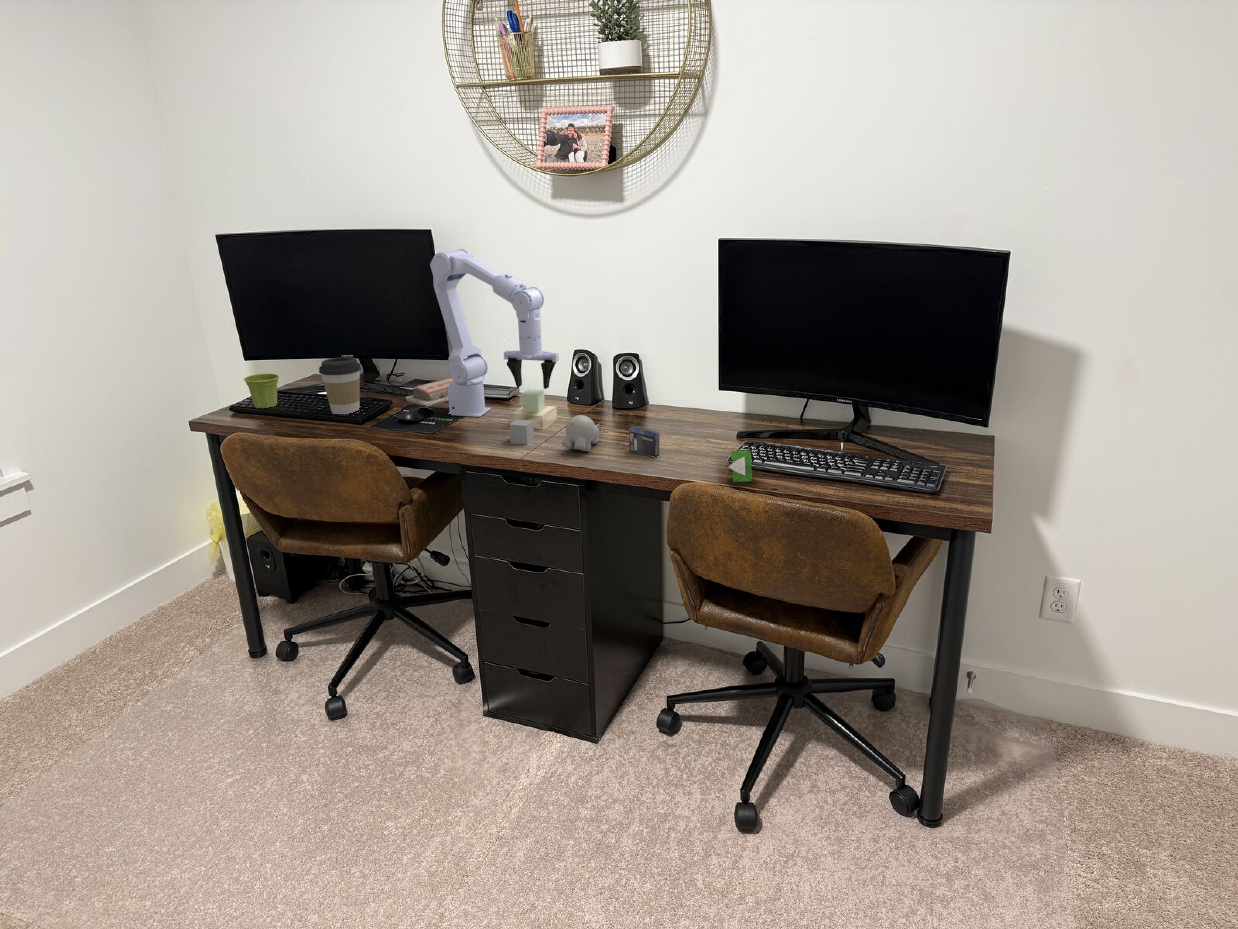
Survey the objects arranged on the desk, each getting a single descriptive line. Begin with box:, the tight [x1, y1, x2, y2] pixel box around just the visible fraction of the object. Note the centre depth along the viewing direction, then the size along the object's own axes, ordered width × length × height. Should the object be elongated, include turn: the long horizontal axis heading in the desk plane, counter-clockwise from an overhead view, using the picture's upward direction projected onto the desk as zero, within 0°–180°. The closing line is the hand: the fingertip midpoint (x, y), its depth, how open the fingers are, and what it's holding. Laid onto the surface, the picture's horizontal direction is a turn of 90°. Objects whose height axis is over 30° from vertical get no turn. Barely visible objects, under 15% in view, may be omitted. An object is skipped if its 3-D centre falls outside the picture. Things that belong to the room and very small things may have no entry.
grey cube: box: [509, 419, 535, 446], centre depth 214 cm, size 4×4×5 cm
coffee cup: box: [318, 356, 362, 415], centre depth 238 cm, size 11×11×15 cm
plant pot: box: [243, 373, 280, 409], centre depth 247 cm, size 9×9×9 cm
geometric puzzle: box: [724, 449, 760, 483], centre depth 186 cm, size 7×7×8 cm
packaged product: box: [405, 377, 454, 407], centre depth 254 cm, size 18×5×10 cm
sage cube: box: [521, 388, 546, 413], centre depth 226 cm, size 4×4×5 cm
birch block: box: [510, 405, 558, 430], centre depth 228 cm, size 9×9×4 cm
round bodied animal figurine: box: [561, 414, 601, 452], centre depth 208 cm, size 7×12×8 cm, turn 147°
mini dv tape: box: [628, 425, 660, 458], centre depth 203 cm, size 8×2×6 cm, turn 48°
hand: (532, 387), depth 225 cm, fingers open, 7 cm apart
